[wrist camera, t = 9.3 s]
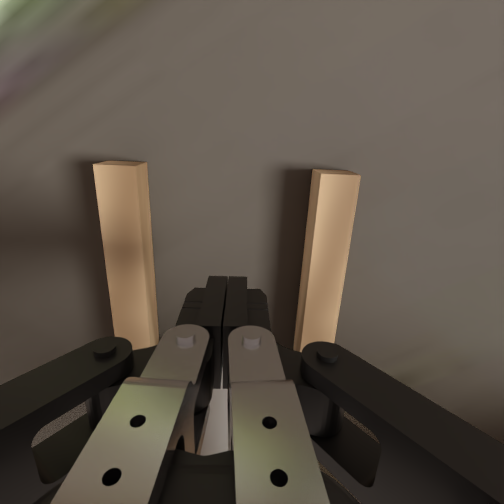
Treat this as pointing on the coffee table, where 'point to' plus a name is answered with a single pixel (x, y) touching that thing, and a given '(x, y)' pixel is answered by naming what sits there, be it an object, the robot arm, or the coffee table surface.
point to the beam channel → (142, 262)
